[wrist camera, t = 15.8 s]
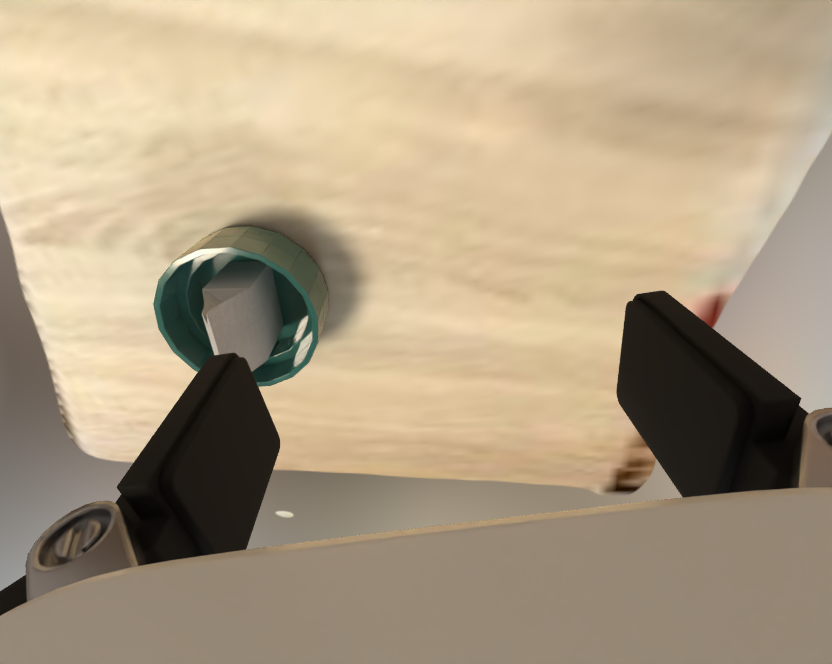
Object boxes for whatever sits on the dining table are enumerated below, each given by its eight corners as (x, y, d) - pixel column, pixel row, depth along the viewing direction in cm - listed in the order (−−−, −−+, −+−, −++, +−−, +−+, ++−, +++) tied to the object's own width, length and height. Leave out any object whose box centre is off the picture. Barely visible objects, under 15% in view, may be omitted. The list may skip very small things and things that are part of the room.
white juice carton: (270, 260, 38) (231, 312, 29) (283, 326, 41) (252, 389, 33) (229, 261, 38) (178, 313, 29) (245, 327, 41) (204, 391, 33)
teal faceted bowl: (155, 260, 38) (117, 288, 33) (281, 199, 36) (261, 219, 31) (241, 368, 44) (220, 405, 39) (353, 322, 42) (346, 356, 37)
